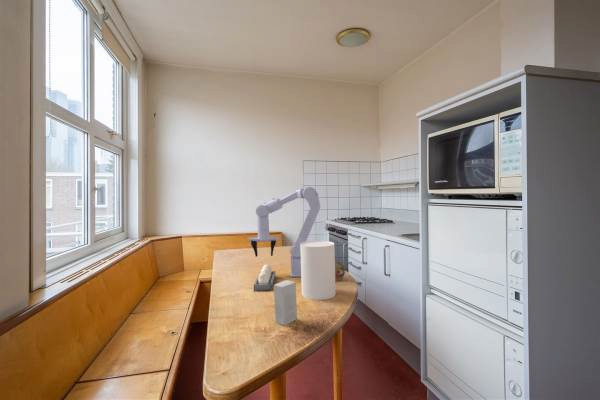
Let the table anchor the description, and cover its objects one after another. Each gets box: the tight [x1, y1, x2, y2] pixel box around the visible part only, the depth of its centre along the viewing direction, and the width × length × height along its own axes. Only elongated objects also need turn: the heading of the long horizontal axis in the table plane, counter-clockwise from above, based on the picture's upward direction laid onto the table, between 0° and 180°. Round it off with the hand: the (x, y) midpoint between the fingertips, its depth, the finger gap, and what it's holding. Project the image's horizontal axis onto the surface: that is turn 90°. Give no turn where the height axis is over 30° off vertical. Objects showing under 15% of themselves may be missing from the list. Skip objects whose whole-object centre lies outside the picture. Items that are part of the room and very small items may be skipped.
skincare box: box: [273, 279, 298, 326], centre depth 90 cm, size 6×4×12 cm
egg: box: [257, 272, 269, 284], centre depth 123 cm, size 4×4×6 cm
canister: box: [300, 240, 337, 301], centre depth 114 cm, size 14×14×20 cm
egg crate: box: [253, 263, 276, 292], centre depth 130 cm, size 7×21×7 cm, turn 0°
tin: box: [335, 261, 346, 282], centre depth 132 cm, size 15×3×8 cm, turn 73°
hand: (264, 256), depth 144 cm, fingers open, 7 cm apart
